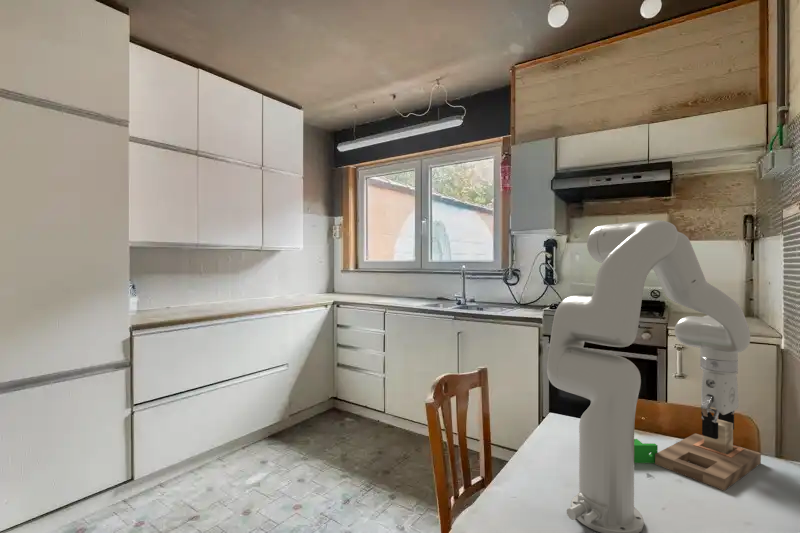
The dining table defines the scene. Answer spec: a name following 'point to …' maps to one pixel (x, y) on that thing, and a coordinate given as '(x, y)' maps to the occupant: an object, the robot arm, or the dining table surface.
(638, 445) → the pipe clamp
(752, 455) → the socket plate
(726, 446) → the maple peg
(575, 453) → the dining table surface
